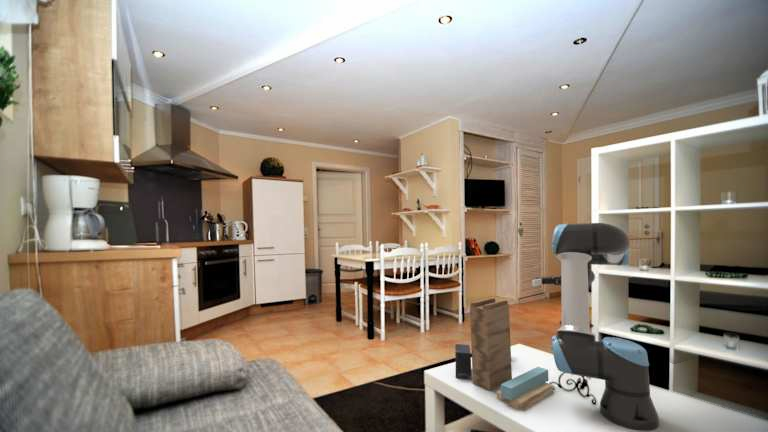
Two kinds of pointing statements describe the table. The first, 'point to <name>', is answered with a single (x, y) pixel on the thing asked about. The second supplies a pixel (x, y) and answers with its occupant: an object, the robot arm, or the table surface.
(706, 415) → the table surface
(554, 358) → the robot arm
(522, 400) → the oak board
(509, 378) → the stand
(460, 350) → the small box
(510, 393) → the rod
